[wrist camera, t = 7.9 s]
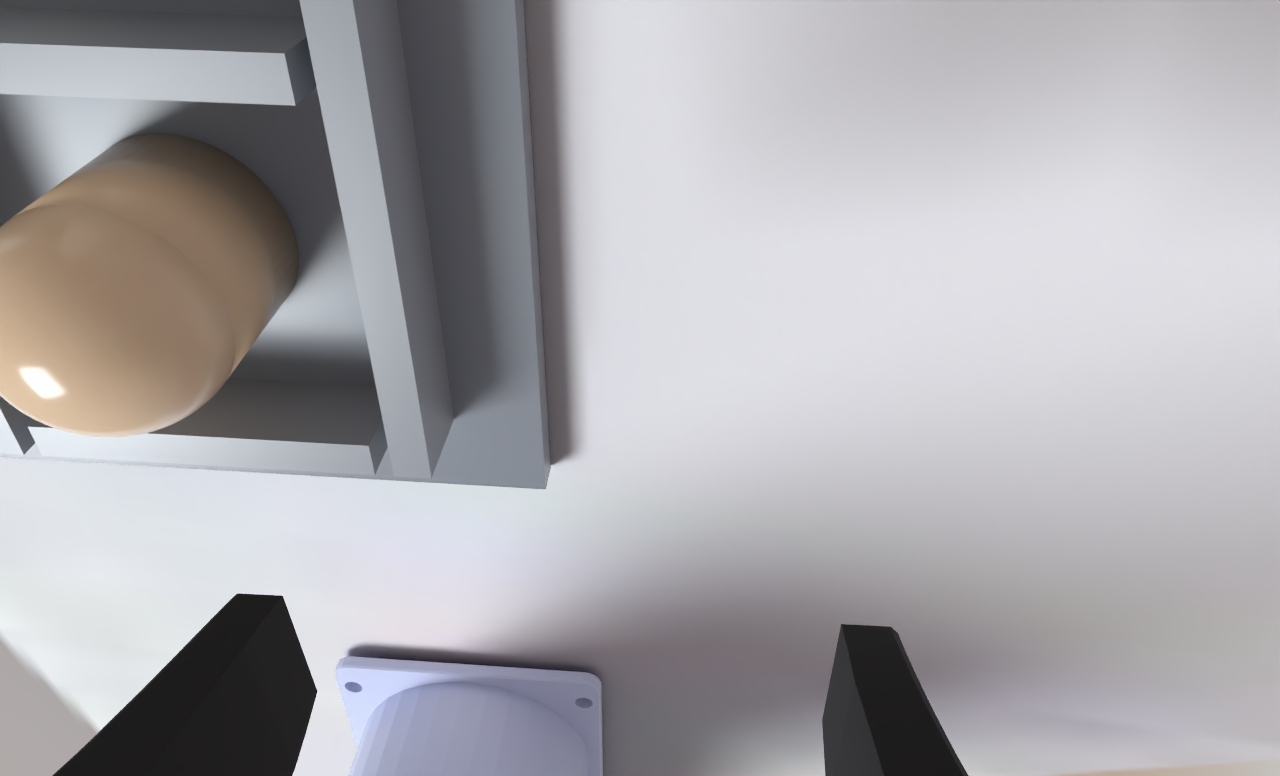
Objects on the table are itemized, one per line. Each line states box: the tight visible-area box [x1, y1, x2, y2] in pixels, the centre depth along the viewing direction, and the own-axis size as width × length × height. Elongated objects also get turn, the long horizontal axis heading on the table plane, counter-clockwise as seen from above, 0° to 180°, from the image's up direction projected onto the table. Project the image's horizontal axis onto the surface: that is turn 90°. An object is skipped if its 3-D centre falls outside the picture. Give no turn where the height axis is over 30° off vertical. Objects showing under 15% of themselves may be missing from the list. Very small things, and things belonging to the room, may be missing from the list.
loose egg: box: [0, 134, 299, 437], centre depth 16 cm, size 4×4×5 cm
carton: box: [0, 0, 551, 489], centre depth 15 cm, size 20×14×3 cm, turn 179°
